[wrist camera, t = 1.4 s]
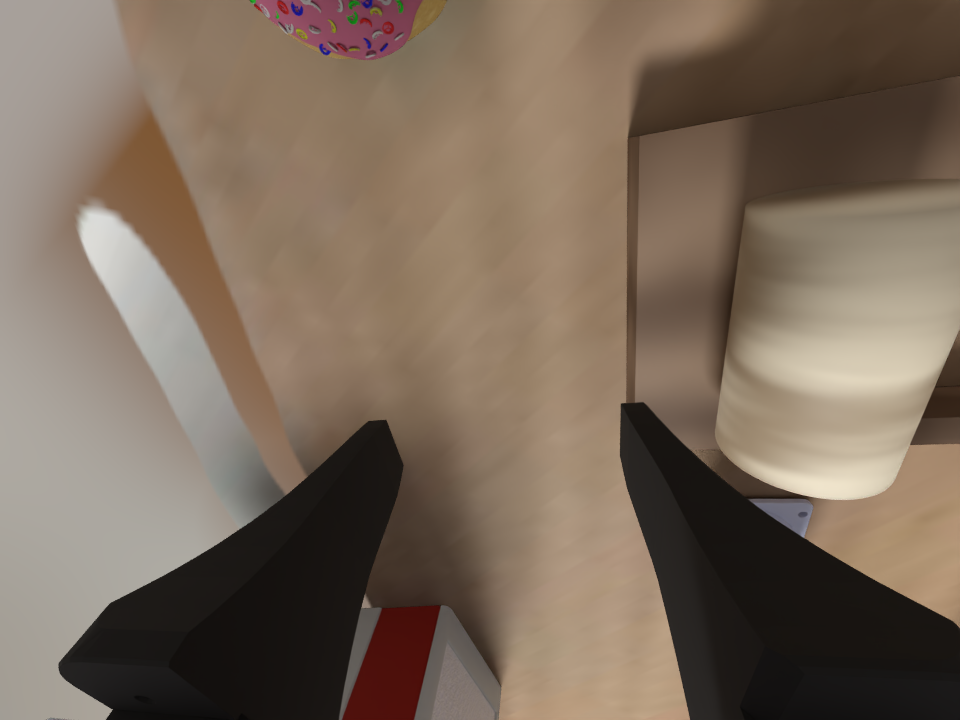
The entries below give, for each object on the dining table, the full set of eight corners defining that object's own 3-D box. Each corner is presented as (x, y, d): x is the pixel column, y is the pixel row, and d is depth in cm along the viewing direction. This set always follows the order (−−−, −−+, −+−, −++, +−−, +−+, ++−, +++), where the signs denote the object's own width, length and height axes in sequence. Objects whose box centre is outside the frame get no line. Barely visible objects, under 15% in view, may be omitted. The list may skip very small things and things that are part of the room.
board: (1174, 403, 19) (1257, 436, 16) (626, 424, 24) (634, 451, 22) (1510, -29, 12) (1733, -70, 9) (627, 138, 17) (639, 136, 15)
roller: (833, 401, 19) (944, 499, 13) (696, 407, 20) (749, 499, 15) (900, 174, 14) (1108, 188, 9) (718, 201, 15) (806, 227, 10)
